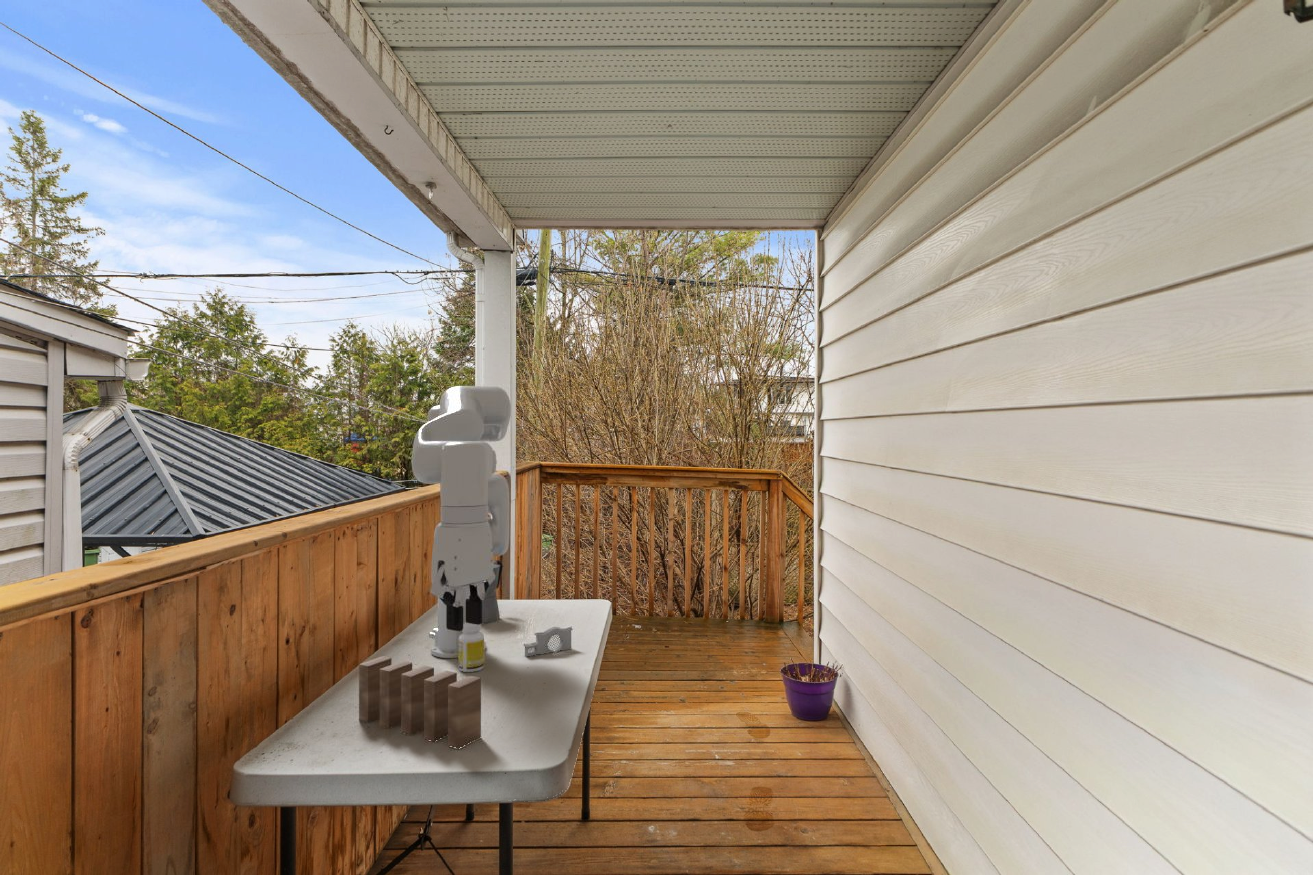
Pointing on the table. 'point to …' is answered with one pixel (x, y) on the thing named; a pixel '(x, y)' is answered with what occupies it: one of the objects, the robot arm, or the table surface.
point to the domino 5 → (464, 711)
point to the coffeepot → (492, 596)
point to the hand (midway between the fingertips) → (464, 625)
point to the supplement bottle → (471, 648)
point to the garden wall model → (544, 639)
